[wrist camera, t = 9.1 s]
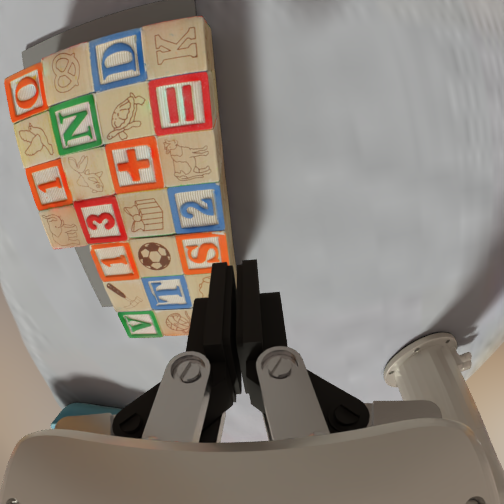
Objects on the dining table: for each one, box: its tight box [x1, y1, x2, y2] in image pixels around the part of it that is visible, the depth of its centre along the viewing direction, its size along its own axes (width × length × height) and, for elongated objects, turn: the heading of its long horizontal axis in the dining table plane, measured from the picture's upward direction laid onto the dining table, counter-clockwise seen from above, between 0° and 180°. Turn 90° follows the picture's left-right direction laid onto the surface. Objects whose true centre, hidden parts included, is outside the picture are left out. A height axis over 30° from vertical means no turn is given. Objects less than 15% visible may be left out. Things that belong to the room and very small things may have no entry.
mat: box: [22, 0, 196, 307], centre depth 22 cm, size 14×26×1 cm, turn 5°
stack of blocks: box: [4, 16, 237, 338], centre depth 20 cm, size 21×6×12 cm
